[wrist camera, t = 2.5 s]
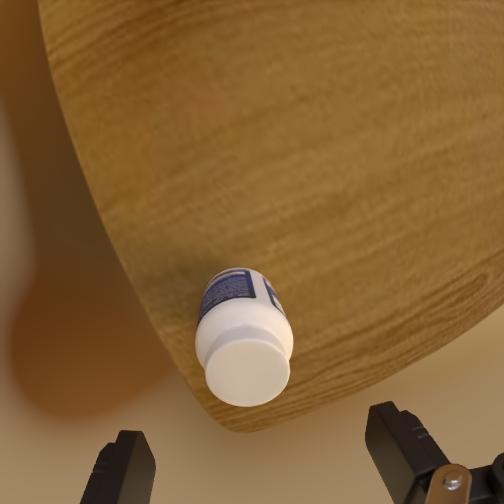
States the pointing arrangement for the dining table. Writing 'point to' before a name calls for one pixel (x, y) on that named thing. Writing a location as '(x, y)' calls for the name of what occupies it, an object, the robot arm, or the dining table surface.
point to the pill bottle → (243, 338)
